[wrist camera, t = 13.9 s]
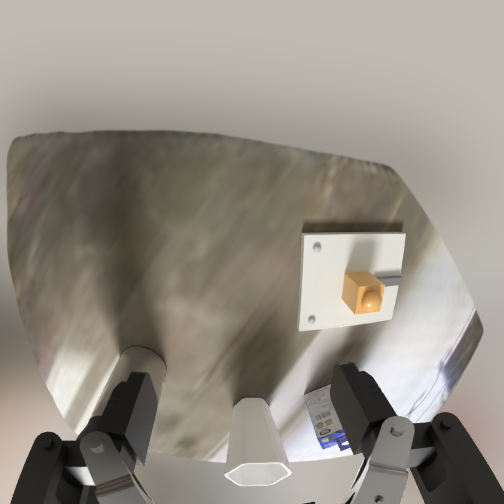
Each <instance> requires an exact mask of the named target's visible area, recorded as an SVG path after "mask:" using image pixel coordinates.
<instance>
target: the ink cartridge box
mask: <svg viewBox="0 0 504 504" xmlns="http://www.w3.org/2000/svg"><path fill="white" fill-rule="evenodd" d="M330 387H331V384H330V385H327V386H325V387H322V388H320V389H317V390H315V391H312V392H310V393H307V394H305V395H304V397H305V401H306V404H307V408H308V411H309V415H310V418H311V421H312V424H313V427H314V430H315V433H316V436H317V439H318V441H319V443H320V445H321V447H322V449H326V448H329V447H331V446H334V445H336V444H338V446H339V448H340V451H343V450H345V449H348V448H350V445H343V446H342V445H341V444H342V443H343V442H346V441H348V440H347V437H346V435H345V433H344V430H343V428H342V425H341V423H340V421H339V418H338V416H337V414H336V411H335V409H334V406H333V404H332V402H331V398H330Z"/></svg>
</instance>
